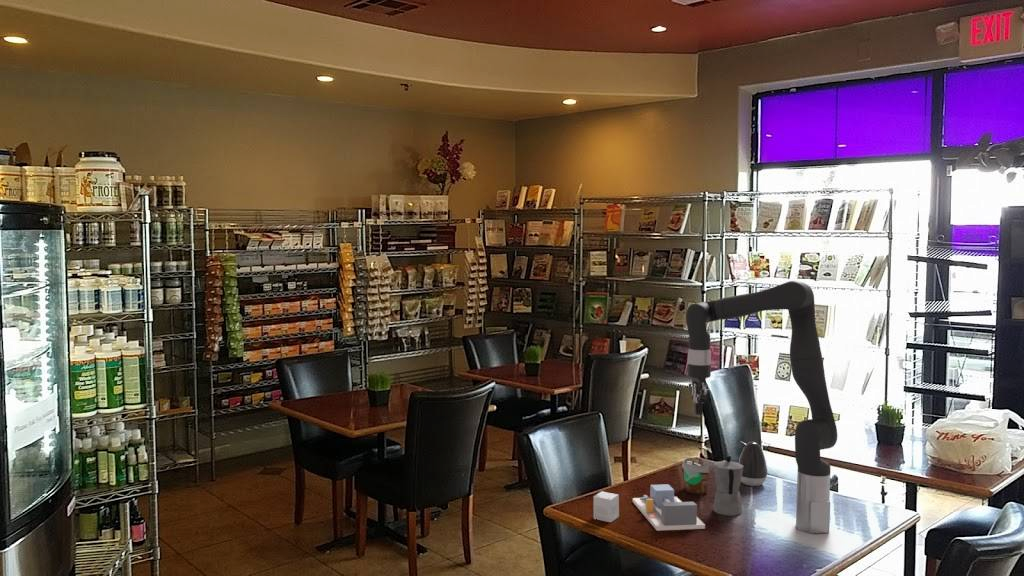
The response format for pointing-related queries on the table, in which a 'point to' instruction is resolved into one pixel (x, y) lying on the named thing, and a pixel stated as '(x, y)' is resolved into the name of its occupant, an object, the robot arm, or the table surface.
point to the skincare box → (606, 506)
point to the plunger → (660, 494)
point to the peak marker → (649, 505)
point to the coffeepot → (728, 487)
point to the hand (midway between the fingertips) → (698, 414)
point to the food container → (695, 476)
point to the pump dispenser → (753, 464)
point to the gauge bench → (658, 522)
